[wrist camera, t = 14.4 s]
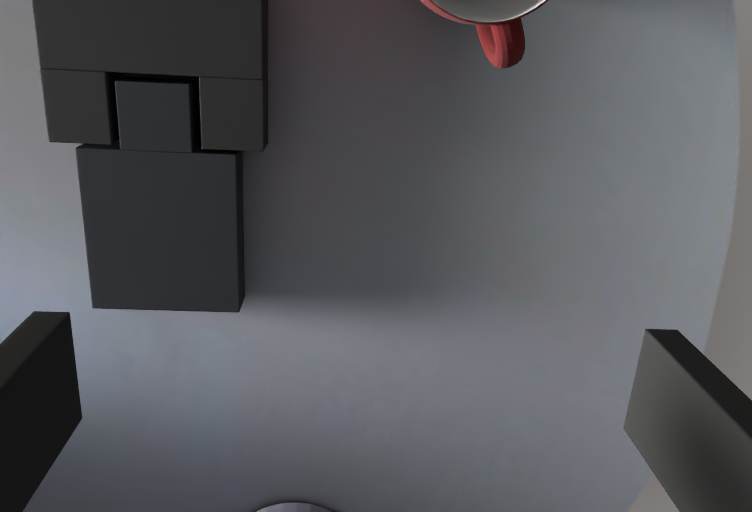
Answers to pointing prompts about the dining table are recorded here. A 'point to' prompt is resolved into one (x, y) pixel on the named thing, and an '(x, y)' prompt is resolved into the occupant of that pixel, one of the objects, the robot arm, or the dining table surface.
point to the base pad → (154, 64)
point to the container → (294, 508)
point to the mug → (492, 24)
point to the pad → (162, 206)
